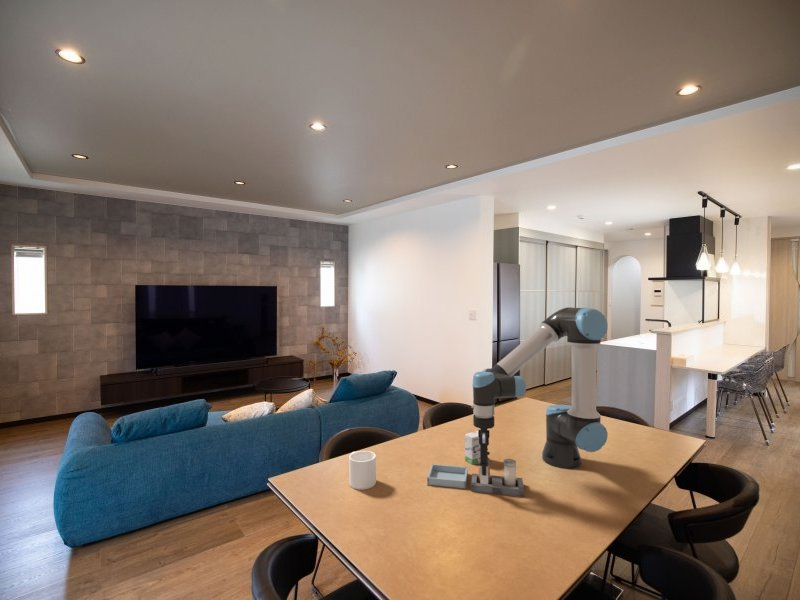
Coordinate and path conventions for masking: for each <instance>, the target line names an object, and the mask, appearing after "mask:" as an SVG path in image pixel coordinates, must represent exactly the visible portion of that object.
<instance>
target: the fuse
mask: <svg viewBox="0 0 800 600" xmlns="http://www.w3.org/2000/svg"><path fill="white" fill-rule="evenodd" d="M516 468H517V460H515V459H513V458H505V459H503V476H504V486H512V487H516V478H517V471H516V470H517V469H516Z"/></svg>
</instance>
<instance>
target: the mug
mask: <svg viewBox="0 0 800 600" xmlns="http://www.w3.org/2000/svg"><path fill="white" fill-rule="evenodd" d="M376 456H377V455H376V453H375V452H373V451H370V450H359V451H352V452H351V453H350V454H349V456H348V484H349V486H350V488H351V489H354V490H358V491H364V490H369V489H371V488H374V486H375V485H376V484H377V457H376Z"/></svg>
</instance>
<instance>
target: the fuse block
mask: <svg viewBox="0 0 800 600" xmlns="http://www.w3.org/2000/svg"><path fill="white" fill-rule="evenodd" d="M470 486H471V487H470V491H471V492H473V493H481V494H492V495H502V496H510V497H511V496H512V497H523V498H525V486H524V480H523V477H516V487H512V486H504V475H494V474H493V475H492V474H490V484H481V483H479V473H472V475H471V484H470Z"/></svg>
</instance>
